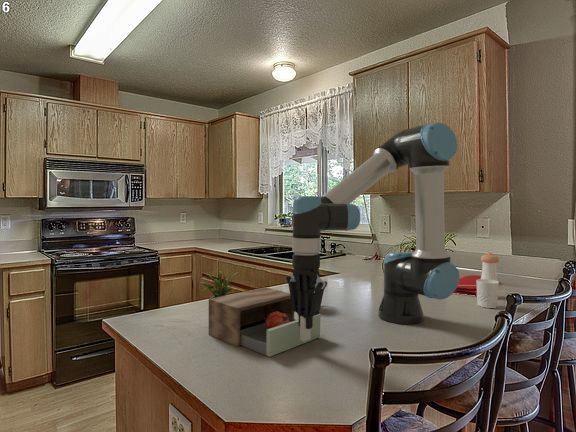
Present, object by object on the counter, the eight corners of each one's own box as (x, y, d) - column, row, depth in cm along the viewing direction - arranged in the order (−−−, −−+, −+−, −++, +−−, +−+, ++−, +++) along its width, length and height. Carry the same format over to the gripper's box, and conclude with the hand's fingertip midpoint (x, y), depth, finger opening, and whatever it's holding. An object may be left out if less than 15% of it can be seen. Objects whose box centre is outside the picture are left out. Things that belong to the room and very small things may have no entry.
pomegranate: (261, 344, 111) (277, 331, 105) (256, 320, 115) (271, 306, 109) (283, 342, 115) (299, 329, 109) (277, 319, 119) (293, 305, 113)
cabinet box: (294, 327, 123) (294, 294, 123) (237, 346, 107) (238, 308, 106) (264, 318, 133) (264, 287, 132) (208, 334, 116) (208, 299, 116)
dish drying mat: (498, 283, 197) (498, 276, 197) (478, 298, 165) (478, 289, 165) (465, 279, 207) (466, 272, 207) (440, 292, 175) (441, 284, 175)
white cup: (500, 306, 151) (501, 281, 151) (495, 310, 145) (495, 284, 145) (479, 302, 156) (480, 278, 156) (472, 306, 151) (473, 281, 150)
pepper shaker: (494, 299, 161) (495, 254, 160) (476, 296, 167) (477, 252, 166) (501, 297, 166) (502, 253, 165) (483, 294, 171) (484, 251, 171)
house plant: (227, 306, 147) (227, 264, 146) (250, 314, 137) (250, 269, 137) (194, 314, 137) (194, 268, 136) (216, 323, 127) (216, 274, 127)
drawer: (320, 336, 114) (320, 314, 114) (269, 356, 99) (269, 330, 99) (285, 325, 125) (285, 304, 124) (234, 342, 109) (234, 318, 109)
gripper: (334, 254, 102) (332, 342, 103) (297, 249, 111) (296, 330, 112) (316, 257, 97) (315, 349, 97) (279, 252, 105) (278, 337, 106)
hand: (305, 339), depth 105 cm, fingers closed
